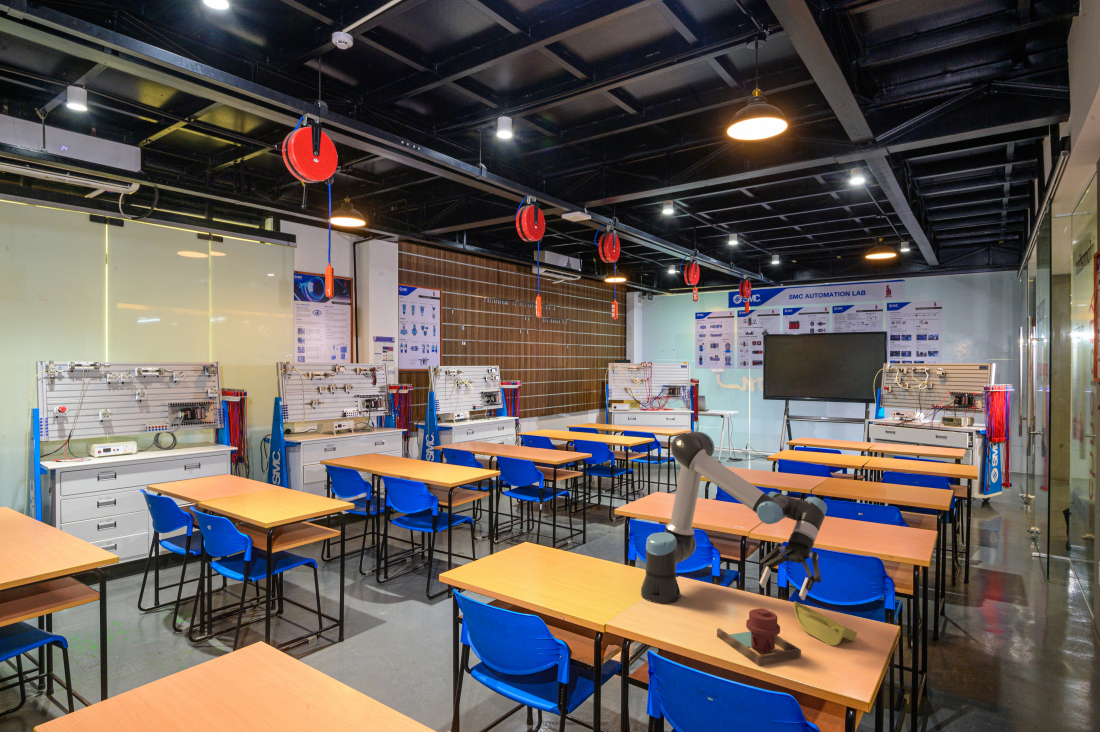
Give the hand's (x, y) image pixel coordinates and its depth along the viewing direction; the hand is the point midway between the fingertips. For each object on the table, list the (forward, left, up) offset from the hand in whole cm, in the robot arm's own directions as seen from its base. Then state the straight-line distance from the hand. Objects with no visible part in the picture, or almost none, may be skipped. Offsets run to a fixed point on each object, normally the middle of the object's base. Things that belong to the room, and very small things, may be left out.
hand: (780, 591), depth 181 cm
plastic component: (-1, +19, -16) cm, 25 cm away
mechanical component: (+4, -10, -16) cm, 19 cm away
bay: (+1, -10, -16) cm, 19 cm away
